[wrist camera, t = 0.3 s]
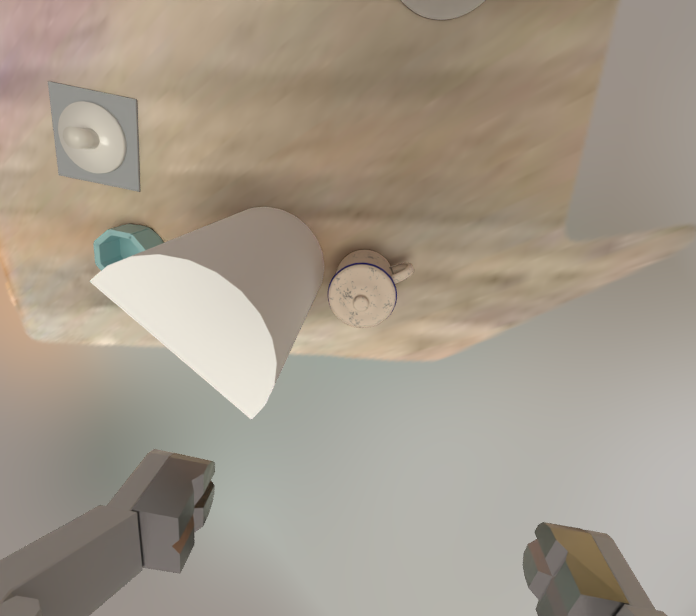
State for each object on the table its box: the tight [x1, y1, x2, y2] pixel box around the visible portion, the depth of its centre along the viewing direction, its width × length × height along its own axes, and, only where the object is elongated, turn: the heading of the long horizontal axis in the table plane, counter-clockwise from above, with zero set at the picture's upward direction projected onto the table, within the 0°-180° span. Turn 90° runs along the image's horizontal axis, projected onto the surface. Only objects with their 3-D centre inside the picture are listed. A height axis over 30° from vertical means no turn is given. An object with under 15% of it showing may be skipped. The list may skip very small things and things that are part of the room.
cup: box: [94, 224, 164, 271], centre depth 55 cm, size 8×8×5 cm
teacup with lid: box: [328, 250, 414, 328], centre depth 50 cm, size 12×9×12 cm
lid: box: [58, 101, 127, 173], centre depth 49 cm, size 9×9×4 cm
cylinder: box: [90, 207, 325, 419], centre depth 44 cm, size 17×17×28 cm
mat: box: [48, 81, 140, 192], centre depth 52 cm, size 12×12×1 cm
